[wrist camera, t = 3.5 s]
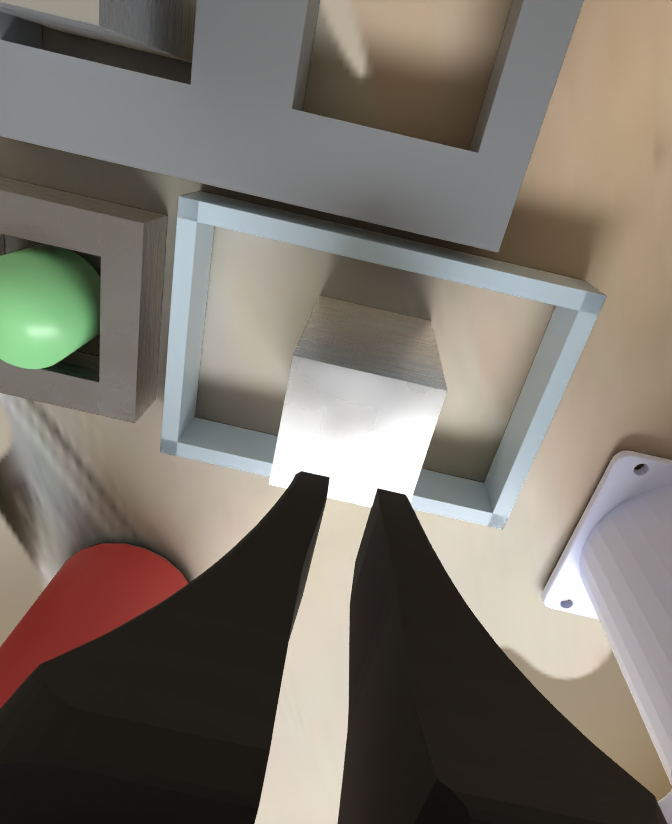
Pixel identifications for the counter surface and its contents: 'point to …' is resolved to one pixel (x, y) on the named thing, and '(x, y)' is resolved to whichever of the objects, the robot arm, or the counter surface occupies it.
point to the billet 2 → (360, 401)
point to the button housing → (119, 298)
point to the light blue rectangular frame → (208, 210)
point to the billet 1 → (118, 22)
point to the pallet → (291, 119)
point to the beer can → (85, 606)
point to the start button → (46, 305)
